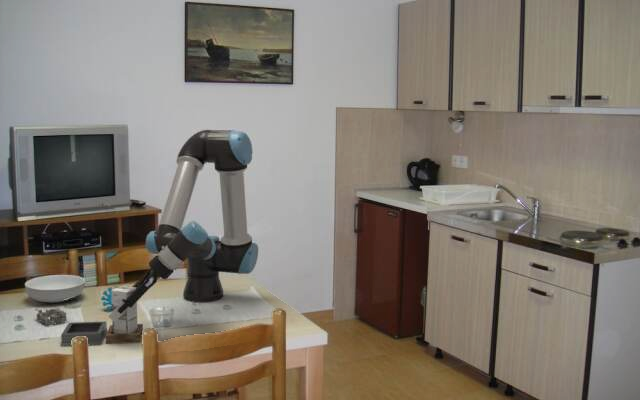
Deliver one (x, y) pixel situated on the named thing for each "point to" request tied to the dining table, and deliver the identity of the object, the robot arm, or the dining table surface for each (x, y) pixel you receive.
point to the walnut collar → (124, 336)
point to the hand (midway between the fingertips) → (113, 314)
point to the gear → (108, 298)
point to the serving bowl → (54, 287)
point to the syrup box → (129, 318)
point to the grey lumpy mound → (52, 316)
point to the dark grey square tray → (85, 332)
